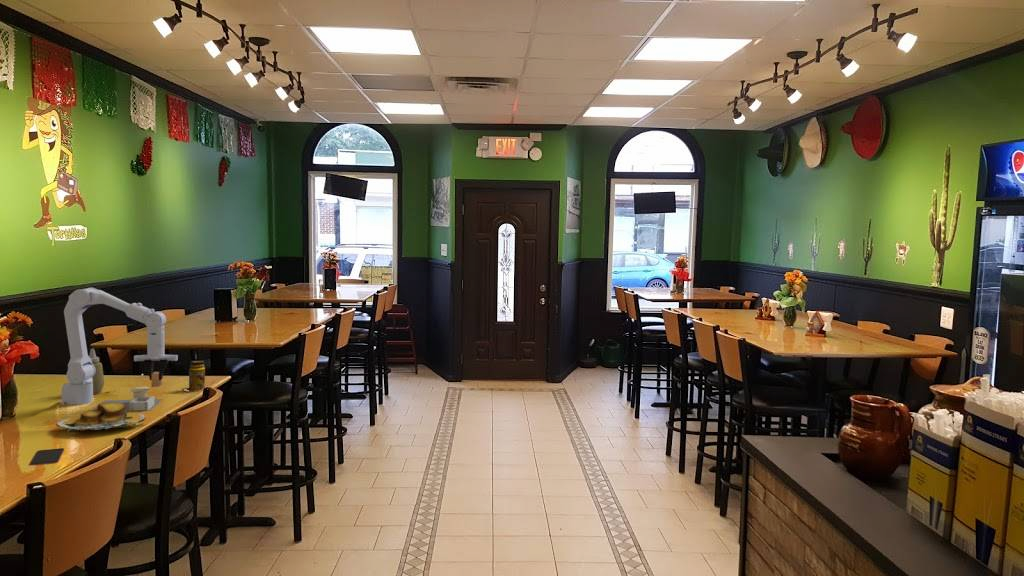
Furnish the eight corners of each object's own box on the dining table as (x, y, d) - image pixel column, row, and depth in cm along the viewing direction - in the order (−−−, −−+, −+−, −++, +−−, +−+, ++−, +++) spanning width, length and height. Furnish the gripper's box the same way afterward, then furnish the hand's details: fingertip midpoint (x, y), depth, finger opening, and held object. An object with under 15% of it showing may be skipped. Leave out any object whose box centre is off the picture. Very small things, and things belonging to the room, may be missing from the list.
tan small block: (151, 387, 247) (151, 373, 247) (154, 384, 251) (154, 371, 250) (158, 386, 247) (158, 373, 247) (161, 384, 251) (161, 371, 251)
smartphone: (65, 447, 198) (58, 462, 185) (65, 449, 198) (58, 464, 185) (37, 450, 194) (27, 465, 182) (37, 452, 194) (27, 467, 182)
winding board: (88, 416, 232) (88, 398, 231) (104, 404, 248) (104, 387, 248) (150, 414, 237) (150, 396, 236) (162, 402, 253) (162, 386, 253)
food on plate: (37, 434, 211) (37, 413, 211) (97, 414, 236) (97, 396, 235) (107, 440, 207) (107, 419, 207) (161, 419, 232) (161, 401, 231)
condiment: (206, 390, 276) (207, 362, 275) (184, 392, 271) (184, 363, 270) (204, 386, 282) (204, 359, 281) (182, 388, 277) (182, 360, 276)
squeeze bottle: (106, 390, 269) (106, 347, 268) (101, 395, 261) (101, 350, 260) (84, 391, 266) (83, 347, 265) (77, 395, 259) (77, 350, 257)
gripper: (131, 345, 242) (131, 382, 243) (174, 345, 245) (174, 381, 246) (137, 342, 248) (137, 378, 249) (179, 342, 252) (179, 377, 253)
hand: (156, 379), depth 248 cm, fingers closed on tan small block, 2 cm apart
